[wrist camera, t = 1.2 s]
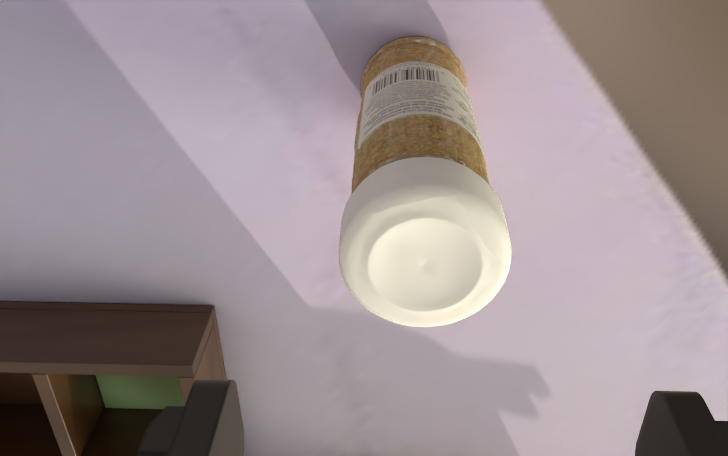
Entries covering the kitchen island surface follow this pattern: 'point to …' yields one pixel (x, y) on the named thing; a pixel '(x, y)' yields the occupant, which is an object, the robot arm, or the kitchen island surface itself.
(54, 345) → the wooden compartment tray
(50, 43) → the kitchen island surface
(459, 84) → the sprinkles bottle
